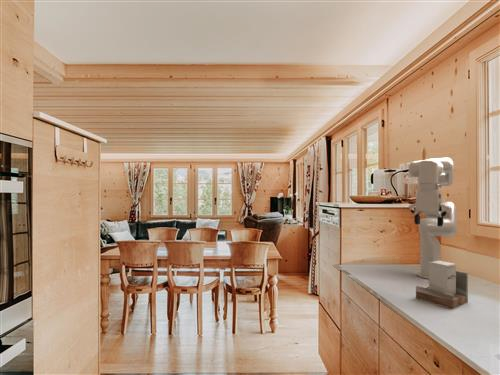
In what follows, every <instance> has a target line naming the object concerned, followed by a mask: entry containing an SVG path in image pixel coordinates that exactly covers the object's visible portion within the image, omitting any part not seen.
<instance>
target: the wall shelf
mask: <svg viewBox="0 0 500 375" xmlns="http://www.w3.org/2000/svg"><path fill="white" fill-rule="evenodd" d="M468 275H469V274H468V272H467V271H461V270H457V269H456V294H448V293H444V292H440V291H436V290H432V289H429V286H428V287H425V286H419V285H416V286H415V298H416V299H417V300H421V301H425V302H428V303H431V304H435V305H438V306H441V307H446V308H448V309H455V308H458V307H459V306H461V305H464V304H466V303H468V301H469V300H468V299H469V297H468V296H469V293H468V290H469V289H468V287H469V286H468V284H469V282H468V281H469V280H468V279H469V276H468Z"/></svg>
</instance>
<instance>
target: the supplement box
mask: <svg viewBox="0 0 500 375" xmlns="http://www.w3.org/2000/svg"><path fill="white" fill-rule="evenodd" d="M456 270H457V263H453V262H448V261H444V260H441V261H434V262H429V279H428V287H429V289H432V290H436V291H440V292H444V293H448V294H456Z"/></svg>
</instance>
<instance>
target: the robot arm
mask: <svg viewBox="0 0 500 375" xmlns="http://www.w3.org/2000/svg"><path fill="white" fill-rule="evenodd" d="M454 167H455V166H454V162H453V160H452V159H451V158H450V157H436V158H435V157H434V158H427V159H422V160H416V161H411V162H410V163H409V165H408V173H409V174H408V175H409V176H410V177H411V178H417V184H418V189H417V192H416V197H415V202H414V203H412V204H409V205H408V208H409V210H410V212H411V213H412V215H413V216H414V219H413V220H414V224H415V225H418V231H419V239H420V240H419V241H420V248H419V249H420V252H419V253H420V254H419V255H420V259H419V260H420V261H419V262H420V263H419V264H420V268H419V269H420V270H419V271H418V272H417V273H416V275H417V276H418V277H419V278H422V279H427V280H429V262H434V261H442V246H441V242H440V241H439V240H438V239H437V238H436V237H443V238H446V237H447V238H452V237H455V236H456V235H457V234H458V219H457V218H458V215H457V207H456V204H455V203H454V202H453V201H446V200H444V201H443V196H442V193H441V190H439V189H440V188H441V189H442V187H450V186H451V185H452V184H454V180H455V179H454V178H455V176H454V174H455V173H454V172H455V168H454ZM421 213H422V216H423V217H424V218H421V215H420V214H421Z"/></svg>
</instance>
